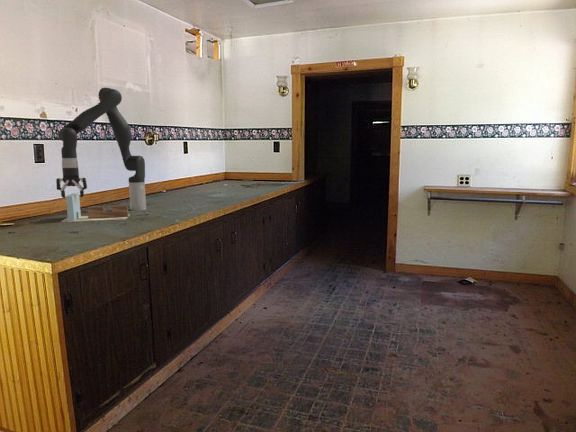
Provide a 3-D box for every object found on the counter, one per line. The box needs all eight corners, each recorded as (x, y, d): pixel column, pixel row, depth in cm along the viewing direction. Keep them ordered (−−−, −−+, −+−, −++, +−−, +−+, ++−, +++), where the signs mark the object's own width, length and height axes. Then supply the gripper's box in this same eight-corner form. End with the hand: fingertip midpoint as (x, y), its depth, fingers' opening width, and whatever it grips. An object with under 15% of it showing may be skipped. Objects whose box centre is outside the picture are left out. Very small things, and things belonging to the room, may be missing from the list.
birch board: (68, 218, 236) (68, 216, 236) (130, 215, 243) (130, 214, 243) (60, 223, 221) (60, 221, 220) (126, 220, 228) (126, 219, 227)
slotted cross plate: (75, 216, 236) (72, 193, 233) (80, 216, 236) (78, 192, 234) (68, 221, 222) (65, 196, 220) (74, 220, 223) (72, 196, 221)
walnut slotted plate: (89, 217, 232) (88, 206, 231) (128, 216, 236) (127, 205, 235) (88, 218, 230) (87, 207, 229) (127, 216, 234) (127, 206, 233)
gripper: (86, 166, 230) (88, 196, 232) (57, 166, 226) (60, 197, 229) (83, 167, 222) (85, 198, 225) (53, 167, 219) (56, 199, 222)
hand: (72, 197), depth 227 cm, fingers open, 8 cm apart
